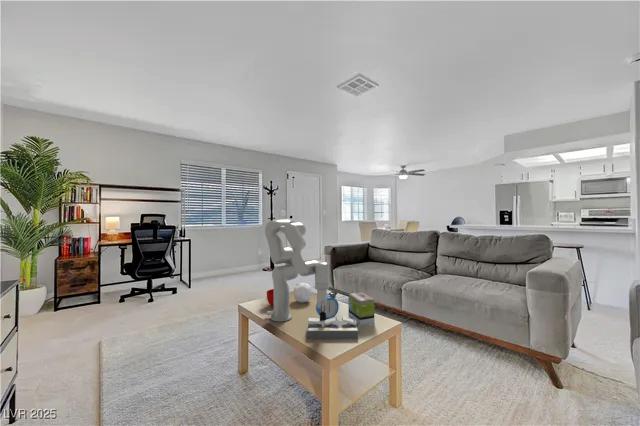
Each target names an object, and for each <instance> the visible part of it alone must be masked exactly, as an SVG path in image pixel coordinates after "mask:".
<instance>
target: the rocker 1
mask: <svg viewBox="0 0 640 426" xmlns="http://www.w3.org/2000/svg"><path fill="white" fill-rule="evenodd" d="M308 323H316V324H322V321H320V317H319V318H318V317H308V321H307V324H308Z"/></svg>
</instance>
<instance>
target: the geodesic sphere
mask: <svg viewBox="0 0 640 426" xmlns="http://www.w3.org/2000/svg"><path fill="white" fill-rule="evenodd" d="M292 295H293V298H294V300H296V302H298V303H301V304H304V303H307V302H309V301H310V300H311V297H312V296H313V289H312V287H311V286H310V284H308V283H306V282H303V281H301V282H299V283H296V284H295V286H294V287H293V291H292Z"/></svg>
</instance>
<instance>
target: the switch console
mask: <svg viewBox="0 0 640 426" xmlns="http://www.w3.org/2000/svg"><path fill="white" fill-rule="evenodd" d="M306 332H307V337H306V338H307V340H309V339H310V340H313V339H314V340H315V339H316V340H330V339H331V340H333V339H334V340H349V339H350V340H351V339H352V340H359V329H358V326H357V324H356V325H353V324H349V323H346V322H343V321H342V320H339V322H336V323H332V324H329V325H325V320H324V321H322V324H316V323H308V322H307V331H306Z"/></svg>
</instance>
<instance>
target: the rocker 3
mask: <svg viewBox="0 0 640 426" xmlns="http://www.w3.org/2000/svg"><path fill="white" fill-rule="evenodd" d="M341 321H343V322H346V323H349V324H353V325H356V326H357V323H356V320H354V319H351V318H350V317H347V316H344V315H343V316H341Z"/></svg>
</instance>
